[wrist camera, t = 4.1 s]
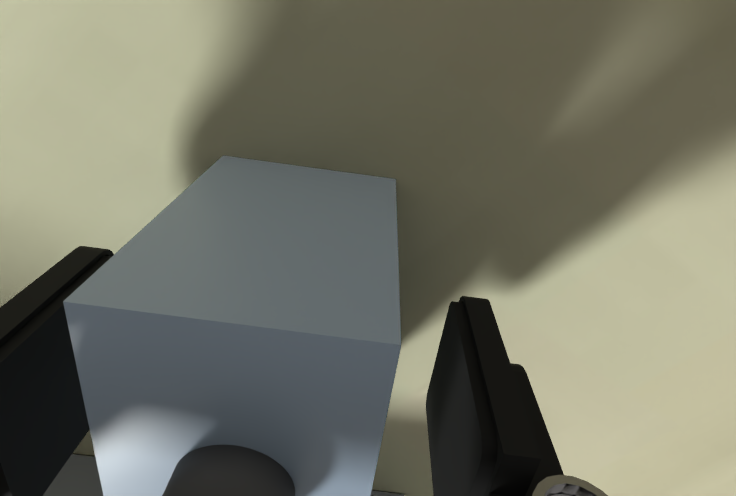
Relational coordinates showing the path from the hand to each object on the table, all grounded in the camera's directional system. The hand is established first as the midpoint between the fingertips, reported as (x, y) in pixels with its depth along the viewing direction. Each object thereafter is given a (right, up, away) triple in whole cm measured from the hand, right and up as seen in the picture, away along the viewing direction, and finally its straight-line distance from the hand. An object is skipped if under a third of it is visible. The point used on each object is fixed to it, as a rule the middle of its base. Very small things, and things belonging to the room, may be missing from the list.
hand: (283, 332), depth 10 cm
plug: (0, +1, +2) cm, 2 cm away
